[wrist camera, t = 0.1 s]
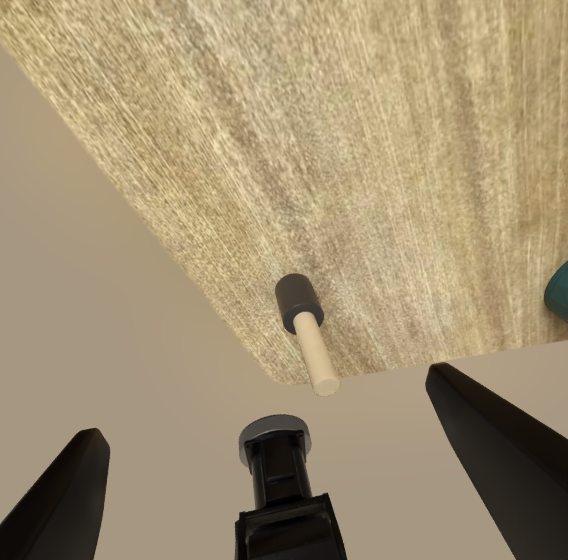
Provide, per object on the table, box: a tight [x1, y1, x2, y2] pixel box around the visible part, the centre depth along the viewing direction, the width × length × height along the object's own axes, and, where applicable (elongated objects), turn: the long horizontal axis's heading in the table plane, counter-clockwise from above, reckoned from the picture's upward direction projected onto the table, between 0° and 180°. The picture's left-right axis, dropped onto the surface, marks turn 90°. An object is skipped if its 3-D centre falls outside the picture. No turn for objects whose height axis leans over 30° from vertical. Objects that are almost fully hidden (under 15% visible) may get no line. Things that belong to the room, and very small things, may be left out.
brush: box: [275, 274, 341, 397], centre depth 23 cm, size 3×3×10 cm
